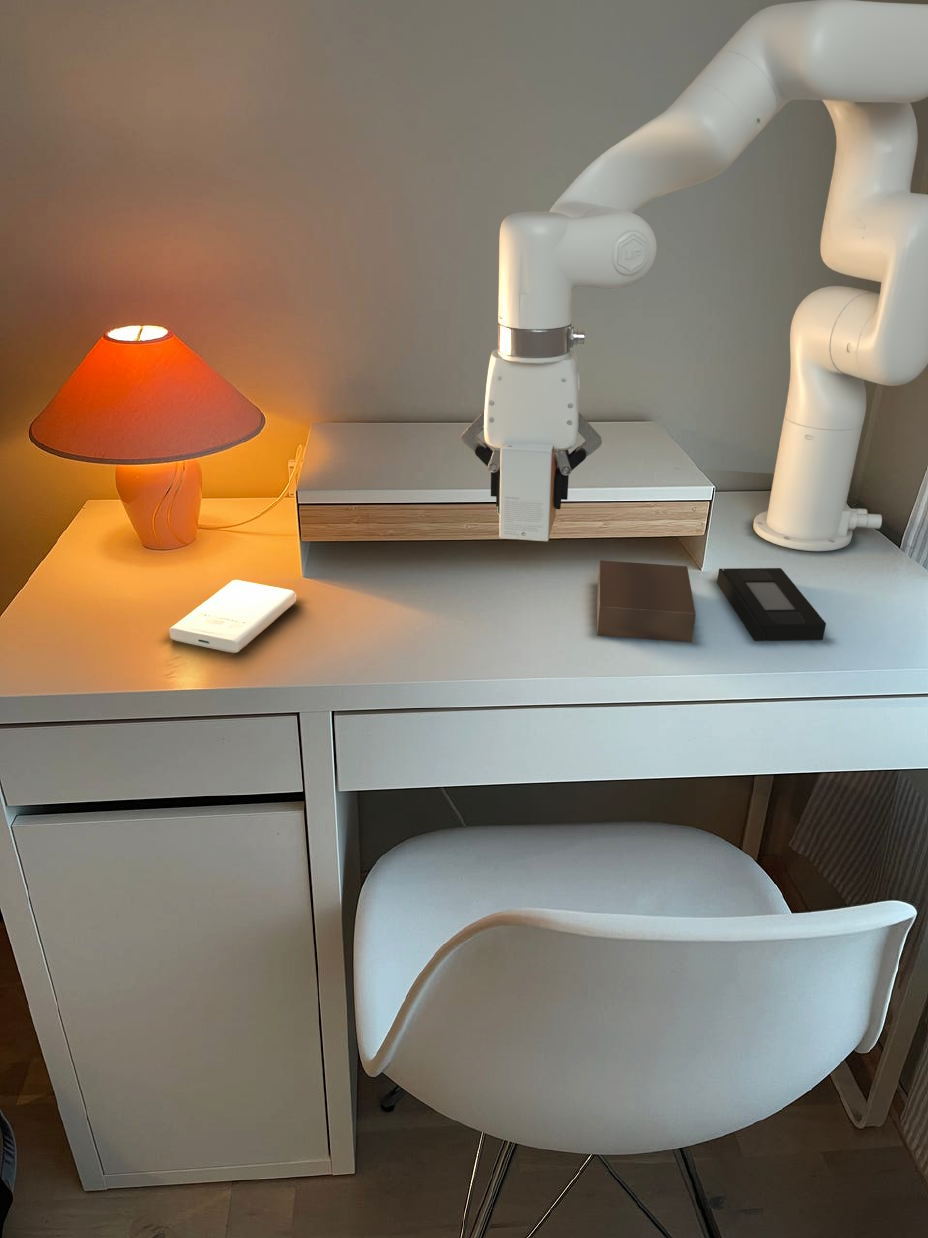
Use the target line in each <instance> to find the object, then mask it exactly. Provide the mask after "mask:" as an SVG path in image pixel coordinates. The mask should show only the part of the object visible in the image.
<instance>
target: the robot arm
mask: <svg viewBox="0 0 928 1238" xmlns="http://www.w3.org/2000/svg"><path fill="white" fill-rule="evenodd" d="M926 98H928V4H927V3H926V4H924V3H902V2H882V1H867V0H805V1H796V2H786V3H785V2H784V3H779V4H773V5H770V6H767V7H765V8H763V9H760V10H759V11H757V12H756V13H754V14H753V15H752V16H751V17H750V18H748V19H747V20H746V21H745V22H744V23H743V24H742V26H741V27H739V29H738V30H737V31H736V32H735V33H734V34H733V36H732V37H731V38H729V40H728V41H727V42H726V43H725V44H724V45H723V47H721V49H720V50H719V51H718V52H717V53H716V55H715V56H714V57H713V58H712V59H711V61H709V63H708V64H707V65H706V66H705V67H704V68H703V69H702V70H701V72H700V73H699V74H698V75H697V76H696V77H695V78H694V80H693V81H692V82H691V83H690V84H689V85H688V86H686V88H685V89H684V90H683V92H682V93H680V95H679V96H678V97H677V98H676V99H675V101H674V102H672V103H671V104H670V105H669V107H667V109H666V110H664V111H663V112H661V113H660V114H659V115H657V116H655V117H654V118H652V119H651V120H649V121H648V122H645V123H644V124H643V125H641V126H640V127H638V128H637V129H636V130H635V131H633V132H632V133H630V134H628V136H626V137H625V138H622V139H621V140H620V141H618V142H617V143H616V144H614V145H613V146H611V147H610V148H608V149H607V150H606V151H605V152H603V153H601V154H600V155H599V156H598V157H596V159H594V160H593V161H592V162H591V163H590V164H589V165H588V166H587V167H586V168H584V170H583V171H582V172H581V173H580V174H579V175H578V176H577V177H576V178H575V179H574V180H573V181H572V182H571V184H570V185H569V186H568V187H567V188H566V189H565V191H564V192H563V193H562V194H560V196H559V197H558V198H557V200H556V201H555V202H554V204H553V205H552V206H551V208H550V209H549V211H543V210H542V211H541V210H538V211H537V210H535V211H533V210H531V211H529V210H528V211H520V212H513V213H511V214H509V215H507V216H506V217H504V218H503V220H502V221H501V224H500V228H499V240H498V241H499V242H498V244H499V248H498V310H497V311H498V312H497V313H498V315H497V316H498V319H497V348H496V349H493V350H492V351H491V354H490V359H489V362H488V363H489V364H488V369H487V379H486V385H485V386H486V387H485V400H484V410H483V411H482V412H481V413H480V414H479V416H477V417H476V418H475V419H474V421H472V423H470V424H469V425H468V426H467V427H466V429H464V430H463V431H462V433H461V435H460V440H461V442H462V443H464V445H465V446H466V447H467V448H469V450H471V451H472V452H473V453H474V454H475V456H476V457H477V458H478V459H479V460H480V461H481V462H482V463H483V464H484V465H485V466H486V467H487V469H488V471H489V472H490V497H492V498H493V497H495V506H496V507H497V508H500V449H501V447H502V446H503V445H505V444H540V445H553V446H554V450H555V458H556V460H557V463H558V468H557V469H556V476H555V497H554V508H556V510H561V509H562V501H567V500H568V498H569V497H568V496H569V476H570V475H571V473H572V471H574V470H575V469H576V468H577V467H578V466H579V465H581V463H583V462H584V461H585V460H586V458H587V457H589V456H590V455H592V454H593V453H594V452H595V451H596V450H598V449H599V448H600V447H601V446H602V444H603V442H602V441H603V439H602V437H601V435H600V434H599V433H598V432H597V430H595V428H593V426H592V425H591V424H590V423H589V422H588V420H587V419H585V417H584V416H583V415H582V414H581V411H580V409H581V407H580V406H581V405H580V404H581V388H580V387H581V384H580V383H581V382H580V367H579V359H578V354H577V352H576V351H574V350H571V348H573V347H574V346H577V345H584V344H585V337H586V336H585V334H586V333H585V332H586V331H585V330H578V328H575V326H572V317H573V316H572V314H573V297H574V296H573V295H574V289H576V288H591V289H592V288H593V289H603V290H604V289H605V290H617V289H618V290H619V289H624V288H628V287H631V286H633V285H635V284H637V283H639V282H640V281H641V280H643V279H644V277H645V276H646V275H647V274H649V272H650V270H651V269H652V267H653V265H654V263H655V262H656V261H655V260H656V257H657V251H658V245H657V244H658V243H657V238H656V235H655V232H654V231H653V229H652V227H651V225H650V224H649V223H648V222H647V221H646V220H645V219H644V218H643V217H641V216H640V215H638V214H636V213H634V212H636V211H638V210H639V209H640V208H642V207H643V206H645V205H646V204H648V203H650V202H652V201H653V200H655V199H657V198H660V197H662V196H664V195H668V194H669V193H672V192H673V193H674V192H676V191H679V190H682V189H686V188H689V187H693V186H695V185H698V184H701V183H704V182H706V181H708V180H710V179H712V178H715V177H717V176H719V175H720V174H723V173H724V172H725V171H727V170H728V169H729V167H731V165H733V163H734V162H735V161H736V159H738V157H740V155H741V154H742V153H743V152H744V151H745V150H746V148H747V147H748V146H749V145H750V144H751V143H752V142H753V141H754V139H755V138H756V137H757V136H758V135H759V134H760V133H761V132H762V130H763V129H764V128H765V127H766V126H767V125H768V124H769V123H770V122H771V121H772V120H773V118H775V116H777V114H778V113H779V112H780V111H781V109H783V107H784V106H786V105H787V104H788V103H790V102H791V101H795V100H796V101H821V102H822V103H823V104H824V106H825V107H826V109H827V111H828V113H829V116H830V118H831V120H832V123H833V127H834V131H835V138H836V139H835V143H836V144H835V145H836V147H835V156H834V163H833V168H832V169H833V170H832V175H831V180H830V185H829V190H828V196H827V201H826V206H825V211H824V216H823V218H824V219H823V223H822V228H821V235H820V244H819V246H820V248H819V249H820V250H819V251H820V257H821V260H822V262H823V263H824V265H826V267H828V268H829V269H831V270H832V271H834V272H837V273H839V274H843V275H845V276H850V277H854V278H859V279H864V280H869V281H873V282H878V283H880V291H879V293H878V292H877V291H876V292H875V291H871V290H866V289H861V288H858V287H857V288H856V287H851V286H845V285H829V286H824V287H821V288H818V289H816V290H813V291H812V292H810V293H809V294H807V296H805V298H803V299H802V301H800V303H799V304H798V306H797V307H796V310H795V312H794V314H793V317H792V320H791V324H790V330H789V351H790V352H789V353H790V356H789V357H790V372H789V385H788V391H787V398H786V404H785V410H784V415H783V421H782V427H781V432H780V433H781V434H780V439H779V444H778V450H777V456H776V462H775V467H774V472H773V479H772V484H771V490H770V491H771V492H770V496H769V502H768V508H767V510H766V511H765V510H764V511H762V512H760V513H759V514H757V515H756V516H755V517H754V520H753V525H752V526H753V531H754V532H755V534H757V535H758V536H759V537H760V538H762V539H763V540H765V541H767V542H769V543H771V544H774V545H777V546H780V547H782V548H783V547H784V548H787V549H793V550H798V551H806V552H829V551H836V550H840V549H842V548H844V547H847V546H848V545H849V544H850V543H851V541H852V539H853V531H854V530H855V529H856V528H864V529H872V530H873V529H874V530H879V529H881V527H882V525H883V524H882V523H883V515H882V514H878V513H868V509H866V508H851V507H850V506H849V505H848V503H847V501H848V497H849V492H850V488H851V482H852V478H853V473H854V469H855V464H856V459H857V454H858V449H859V445H860V441H861V435H862V430H863V425H864V422H865V417H866V411H867V392H866V391H867V389H866V385H865V381H868V382H871V383H875V384H879V385H883V386H887V387H898V386H903V385H906V384H908V383H910V382H912V381H914V380H916V379H917V377H918V376H920V375H921V374H922V373H923V371H924V370H925V368H926V367H927V365H928V194H925V193H918V192H917V193H915V192H911V187H912V179H913V173H914V168H915V162H916V157H917V150H918V142H919V141H918V140H919V134H918V132H919V131H918V124H917V119H916V115H915V111H914V108H913V106H912V103H916V102H919V101H922V100H924V99H926ZM481 432H483V436H484V438H483V439H484V441H485V442H484V441H482V439H481V438H480V437H479V434H480V433H481ZM579 434H580V436H581V437H582V438H583V439H584V442H582V444H581V445H578V446H577V447H576V448H575V449H573V450H572V451H571V452H570V451H569V450H570V449H572V448H573V447H575V446H576V444H577V441H578V435H579ZM490 447H493V450H492V448H490Z"/></svg>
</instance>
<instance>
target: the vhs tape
mask: <svg viewBox="0 0 928 1238" xmlns="http://www.w3.org/2000/svg"><path fill="white" fill-rule="evenodd" d="M716 584H717V586H718V587H719V588H720V590H721V592H722V593H723V594H724V597H725V598H726V599H727V601H728V602H729V604H730V605H731V607H732V608H733V610H734V611H735V613H736V615H737V616H738V618H739V619H740V620H741V622H742V624H743V625H744V627H745V628H746V630H747V631H748V633H749V634H750V636H751V638H752V639H753V640H754V641H755V642H775V641H776V642H779V641H781V642H784V641H788V642H789V641H823V640H824V637H825V631H826V626H827V622H825V620H824V619H823V618H822V616H821V615H820V614H819V613H818V611H817V610H816V609H815V608H814V607H813V605H812V604H811V603H810V602H809V600H808V599H807V597H805V596H804V594H803V593H802V592H801V591H800V589H799V588H798V587H797V586H796V584H795V583H794V582H793V581H792V580H791V578H790V577H789V576H788V575H787V574H786V572H785V570H784V569H782V568H781V567H764V568H763V567H748V568H746V567H745V568H744V567H742V568H741V567H740V568H739V567H737V568H735V567H734V568H730V567H729V568H718V572H717V580H716Z"/></svg>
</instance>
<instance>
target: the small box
mask: <svg viewBox="0 0 928 1238" xmlns="http://www.w3.org/2000/svg"><path fill="white" fill-rule="evenodd" d="M557 468H558V463H557V460H556V458H555V450H554V446H553V445H540V444H505V445H503V446H502V447H501V449H500V507H499V519H498V520H499V527H498V528H499V529H498V530H499V533H498V534H499V538H500V539H504V540H505V539H507V540H520V541H534V542H535V541H536V542H537V541H538V542H549V541H550V540H549V539H550V535H551V532H552V528H553V526H554V523H555V519H556V517H557V509H556V508H554V497H555V476H556V469H557Z"/></svg>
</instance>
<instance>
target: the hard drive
mask: <svg viewBox="0 0 928 1238" xmlns="http://www.w3.org/2000/svg"><path fill="white" fill-rule="evenodd" d="M296 603H297V593H296V592H295V590H291V589H288V588H287V589H286V588H281V587H276V586H270V585H267V584H266V585H265V584H261V583H255V582H250V581H244V580H240V579H234V580H231V581H229V583H228V584H226V585H225V586H223V587H222V588H221V589H220V590H219V591H217V592H216V593H214V594H213V595H212V596H211V597H209V598H208V599H207V600H205V601H204V602H202V604H200V605H199V606H197V607H196V608H195V609H193V610H192V611H191V612H190V613H188V614H187V615H185V617H183V618H181V619H180V620H179V621H178V622H176V623H175V624H173V625H172V626H171V627H170V628H169V629H168V632H169V638H170V639H171V640H173V641H175V642H179V643H184V644H189V645H193V646H199V647H204V648H208V649H212V650H218V651H221V652H227V653H232V654H235V653H239V652H240V651H241V650H242V649H244V648H245V647H247V646H248V644H250V643H251V642H252V641H253V640H254V639H255V638H257V636H260V634H261V633H262V632H264V631H265V630H266V629H267V628H268V627H269V626H270V625H272V623H274V622H275V621H277V619H278V618H280V617H281V615H283V614H284V613H285V612H286V611H287V610H289V608H291V607H292V606H293V605H295V604H296Z"/></svg>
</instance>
